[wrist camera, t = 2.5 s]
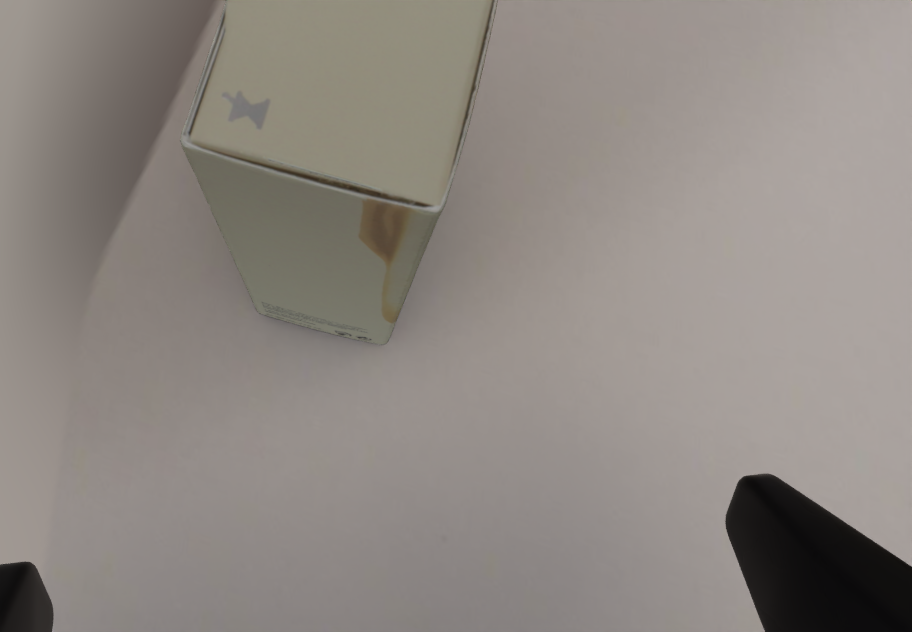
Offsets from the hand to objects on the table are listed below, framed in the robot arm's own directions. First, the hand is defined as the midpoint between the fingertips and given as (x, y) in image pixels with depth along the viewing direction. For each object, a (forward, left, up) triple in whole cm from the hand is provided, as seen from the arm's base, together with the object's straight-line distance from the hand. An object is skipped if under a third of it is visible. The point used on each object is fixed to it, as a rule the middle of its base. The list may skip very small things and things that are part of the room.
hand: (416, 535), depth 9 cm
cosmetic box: (+7, +4, -14) cm, 16 cm away
